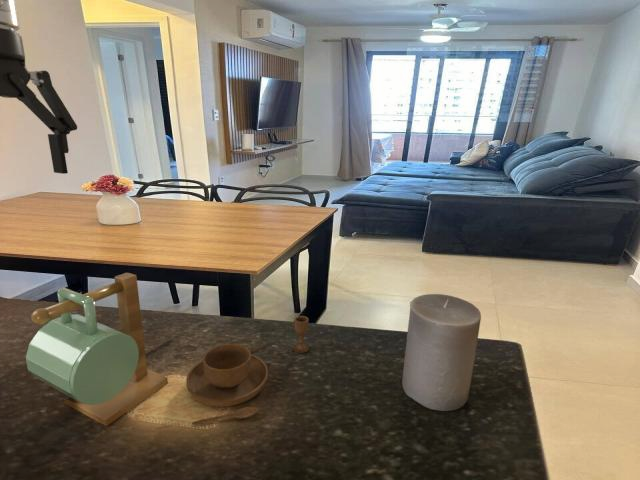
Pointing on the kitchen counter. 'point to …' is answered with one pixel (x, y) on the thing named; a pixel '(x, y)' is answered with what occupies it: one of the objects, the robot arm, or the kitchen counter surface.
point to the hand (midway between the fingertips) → (16, 176)
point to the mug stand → (131, 325)
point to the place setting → (234, 375)
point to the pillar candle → (440, 351)
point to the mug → (82, 354)
